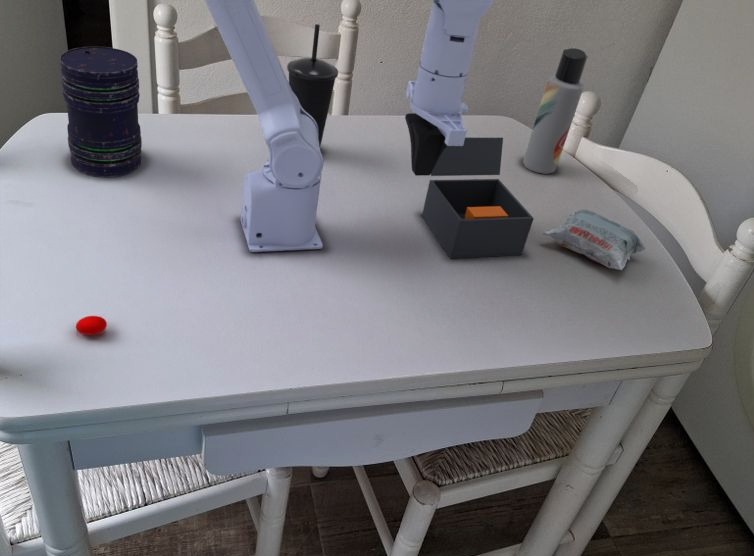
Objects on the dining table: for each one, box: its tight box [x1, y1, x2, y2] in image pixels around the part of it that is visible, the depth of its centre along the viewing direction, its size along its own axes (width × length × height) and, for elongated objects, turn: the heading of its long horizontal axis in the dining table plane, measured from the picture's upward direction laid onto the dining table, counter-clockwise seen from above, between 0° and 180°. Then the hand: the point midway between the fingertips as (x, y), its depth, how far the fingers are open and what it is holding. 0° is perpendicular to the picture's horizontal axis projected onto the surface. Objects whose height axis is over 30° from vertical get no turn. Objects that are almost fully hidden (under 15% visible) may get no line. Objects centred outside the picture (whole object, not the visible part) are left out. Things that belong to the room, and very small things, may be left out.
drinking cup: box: [286, 23, 339, 147], centre depth 108 cm, size 8×8×20 cm
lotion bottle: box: [522, 47, 589, 175], centre depth 115 cm, size 6×6×20 cm
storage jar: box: [59, 46, 143, 178], centre depth 98 cm, size 10×10×15 cm
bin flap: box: [430, 136, 504, 177], centre depth 99 cm, size 5×11×1 cm
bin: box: [421, 178, 535, 260], centre depth 98 cm, size 11×11×6 cm
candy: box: [75, 315, 108, 336], centre depth 72 cm, size 3×2×2 cm, turn 103°
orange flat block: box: [464, 206, 508, 219], centre depth 96 cm, size 5×2×5 cm, turn 106°
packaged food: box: [542, 209, 646, 271], centre depth 99 cm, size 9×12×5 cm
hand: (421, 173), depth 90 cm, fingers closed
